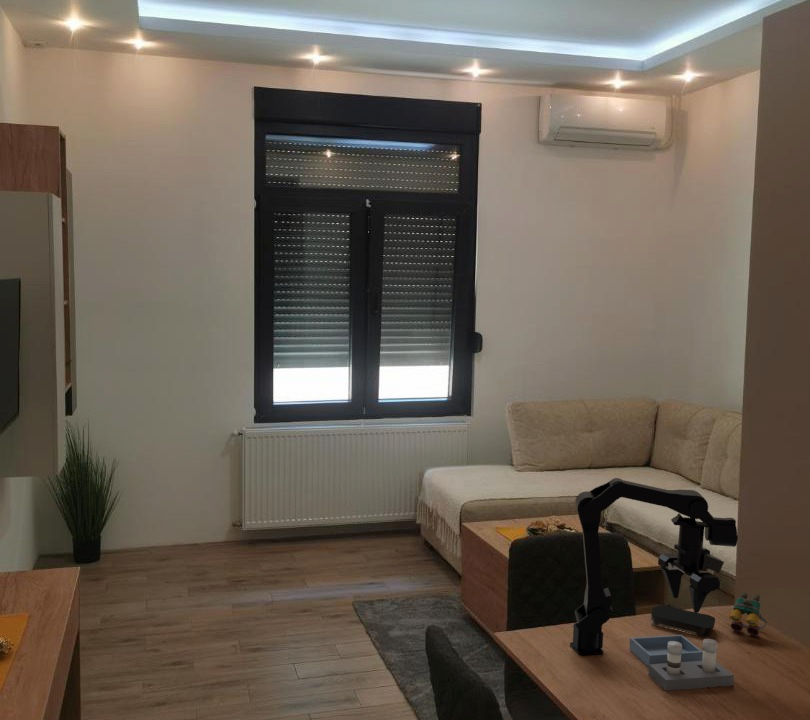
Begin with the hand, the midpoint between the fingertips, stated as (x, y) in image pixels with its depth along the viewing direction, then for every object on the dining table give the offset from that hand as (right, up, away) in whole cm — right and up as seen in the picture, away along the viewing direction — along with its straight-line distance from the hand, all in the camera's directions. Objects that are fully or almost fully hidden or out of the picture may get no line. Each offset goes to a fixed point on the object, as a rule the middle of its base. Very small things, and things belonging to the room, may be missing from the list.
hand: (685, 604), depth 209 cm
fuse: (+2, -14, -10) cm, 18 cm away
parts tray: (-5, -13, +1) cm, 14 cm away
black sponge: (+6, -12, +20) cm, 24 cm away
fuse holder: (-3, -14, -11) cm, 18 cm away
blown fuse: (-7, -14, -12) cm, 20 cm away
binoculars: (+22, -13, +17) cm, 30 cm away
